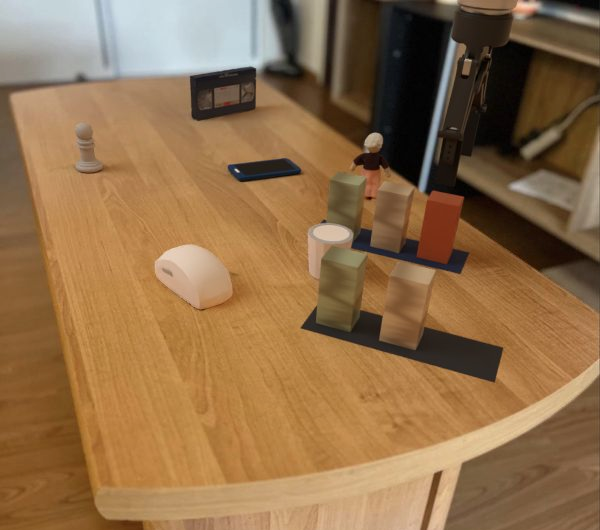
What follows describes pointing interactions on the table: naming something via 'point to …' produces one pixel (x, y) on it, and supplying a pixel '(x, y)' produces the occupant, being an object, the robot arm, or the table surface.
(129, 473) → the table surface
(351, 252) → the near blocks
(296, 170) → the cell phone
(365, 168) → the grandmother figurine
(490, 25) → the robot arm
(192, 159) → the table surface
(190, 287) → the computer mouse
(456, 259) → the word mat far
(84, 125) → the chess piece
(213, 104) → the vhs cassette tape
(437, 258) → the orange rectangular block
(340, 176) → the far blocks
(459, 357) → the mat
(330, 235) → the pale pink cylinder
